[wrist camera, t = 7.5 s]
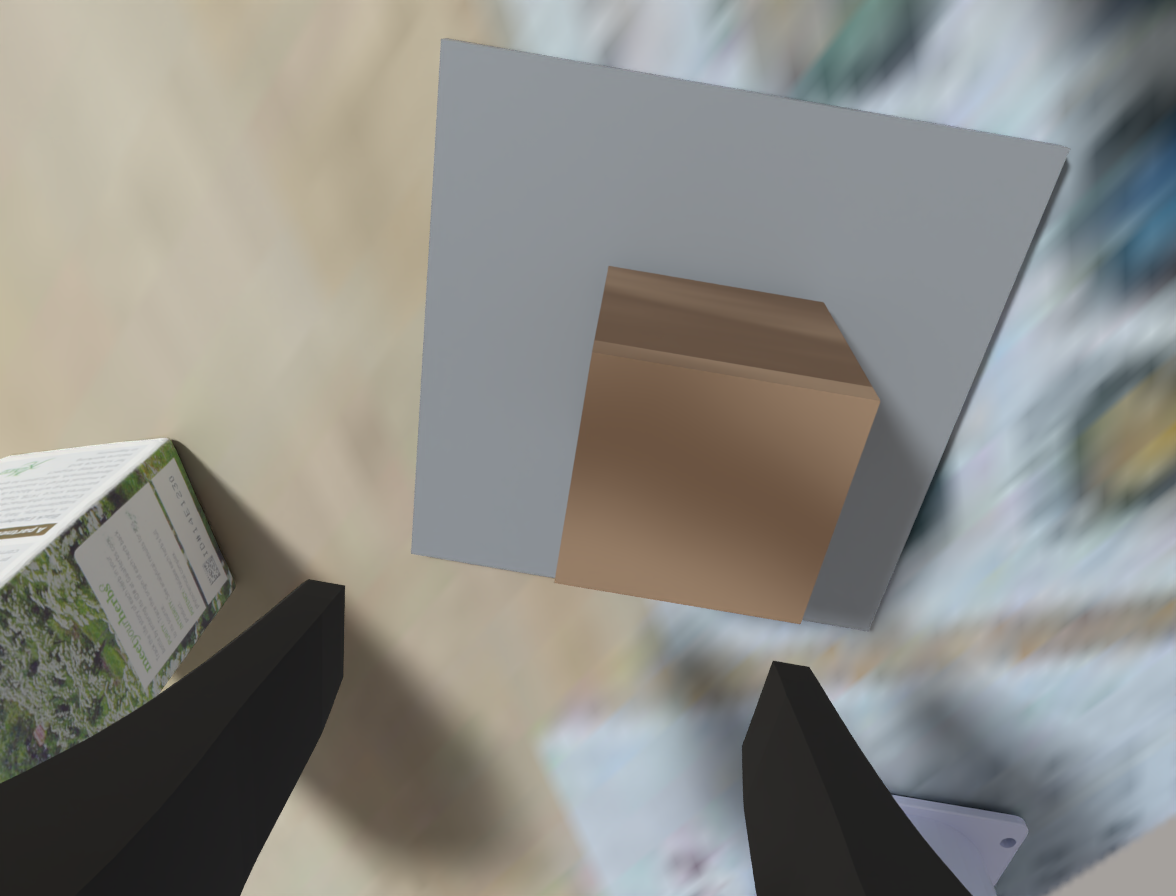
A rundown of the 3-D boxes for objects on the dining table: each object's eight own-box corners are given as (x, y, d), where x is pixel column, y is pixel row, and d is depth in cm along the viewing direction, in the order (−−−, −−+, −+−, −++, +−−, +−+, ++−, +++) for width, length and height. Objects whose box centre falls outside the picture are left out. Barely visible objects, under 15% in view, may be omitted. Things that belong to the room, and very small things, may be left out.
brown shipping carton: (767, 486, 22) (800, 624, 17) (577, 454, 22) (553, 582, 17) (823, 302, 19) (880, 401, 14) (608, 265, 19) (591, 352, 14)
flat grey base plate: (865, 620, 25) (920, 783, 20) (415, 544, 25) (350, 686, 20) (1060, 145, 18) (1224, 198, 13) (446, 38, 18) (360, 48, 13)
